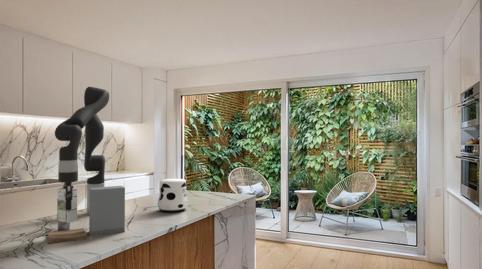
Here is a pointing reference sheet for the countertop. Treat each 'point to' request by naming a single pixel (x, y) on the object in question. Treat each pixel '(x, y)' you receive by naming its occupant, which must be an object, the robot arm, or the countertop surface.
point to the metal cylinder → (63, 226)
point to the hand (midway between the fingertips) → (67, 208)
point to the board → (67, 235)
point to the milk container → (172, 195)
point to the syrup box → (62, 213)
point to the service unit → (107, 210)
